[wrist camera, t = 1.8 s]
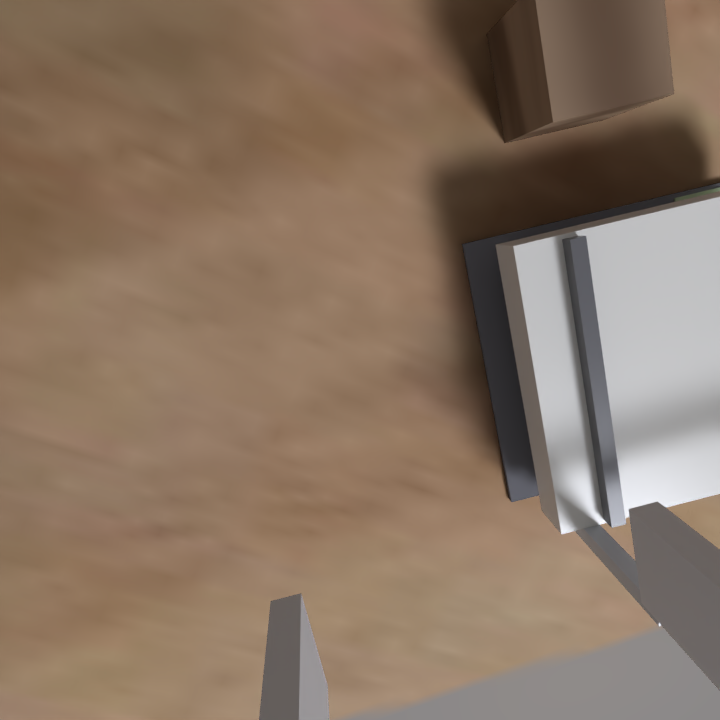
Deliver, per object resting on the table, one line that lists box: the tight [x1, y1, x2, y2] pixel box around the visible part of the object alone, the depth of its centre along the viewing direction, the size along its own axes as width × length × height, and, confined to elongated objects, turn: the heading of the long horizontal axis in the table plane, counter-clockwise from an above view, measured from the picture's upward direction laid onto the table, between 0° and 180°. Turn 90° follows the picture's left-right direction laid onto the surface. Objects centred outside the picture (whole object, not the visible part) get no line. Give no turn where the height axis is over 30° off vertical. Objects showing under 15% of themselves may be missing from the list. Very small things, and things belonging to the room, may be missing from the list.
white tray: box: [496, 191, 720, 626], centre depth 27 cm, size 13×15×10 cm
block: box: [487, 0, 674, 143], centre depth 26 cm, size 5×5×6 cm
